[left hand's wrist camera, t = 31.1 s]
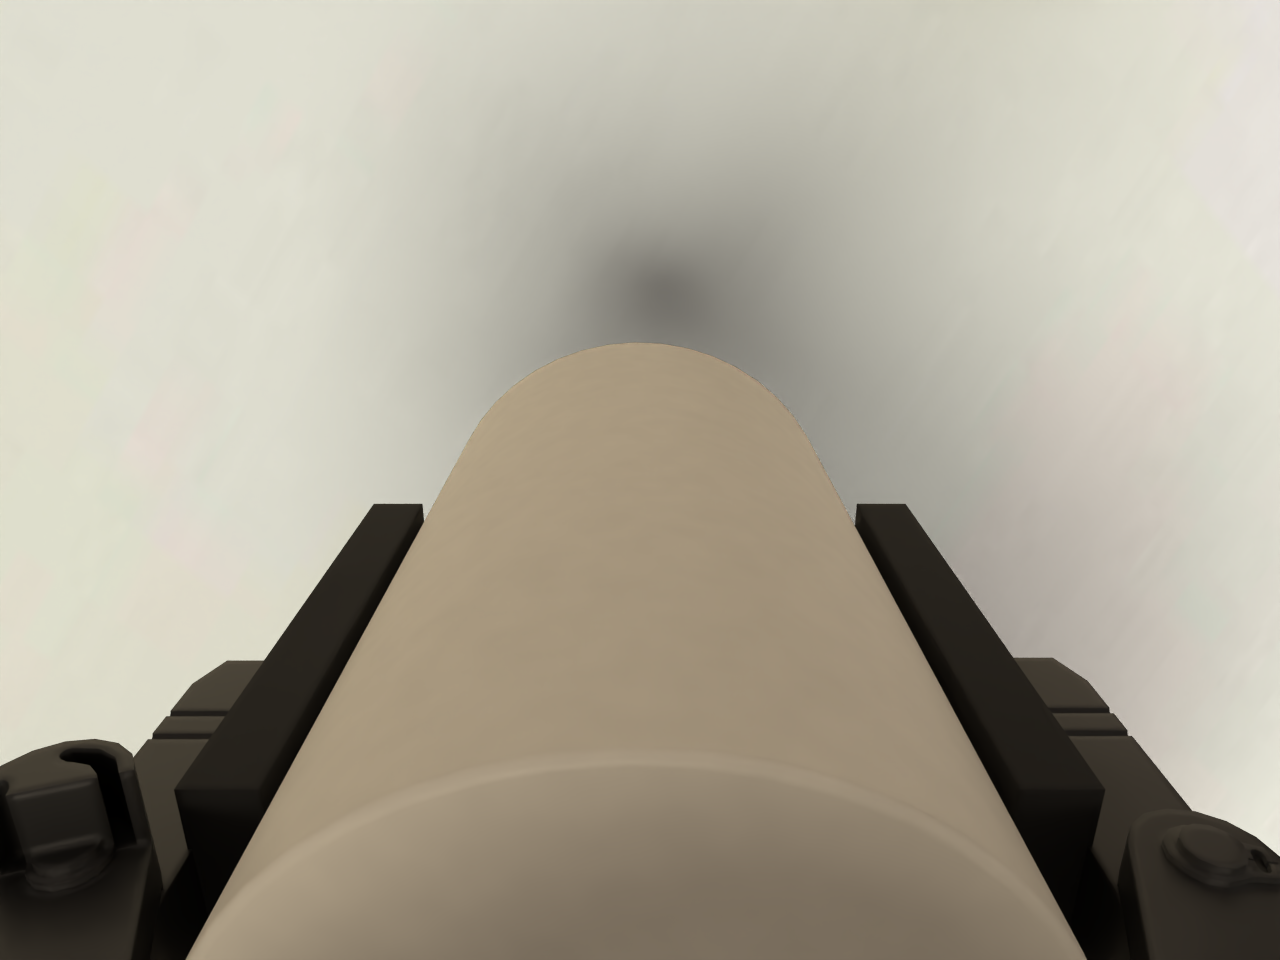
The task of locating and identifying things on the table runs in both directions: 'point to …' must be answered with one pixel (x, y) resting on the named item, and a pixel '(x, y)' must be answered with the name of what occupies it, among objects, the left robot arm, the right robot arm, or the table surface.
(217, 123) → the table surface
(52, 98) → the table surface
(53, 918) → the left robot arm
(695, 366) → the can
